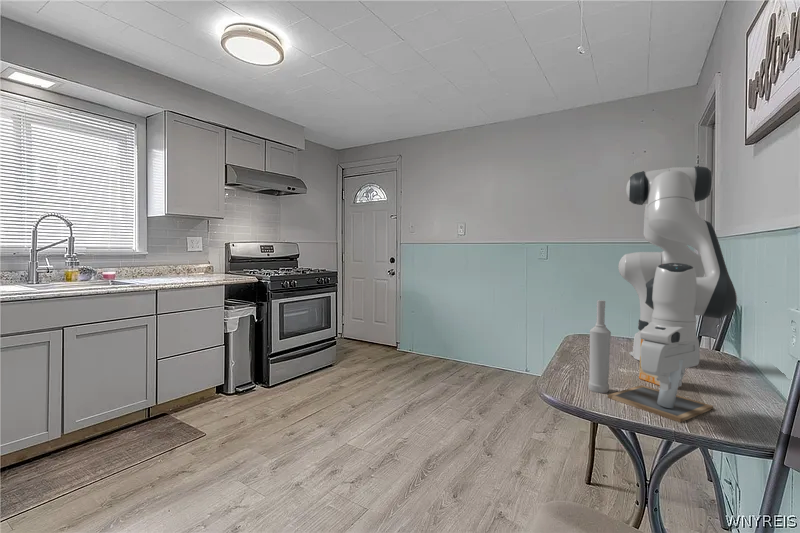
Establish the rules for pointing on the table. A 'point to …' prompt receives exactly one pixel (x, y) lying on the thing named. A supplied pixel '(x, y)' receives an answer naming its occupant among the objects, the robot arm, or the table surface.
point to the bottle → (599, 352)
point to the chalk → (669, 396)
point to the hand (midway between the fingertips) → (670, 387)
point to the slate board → (648, 402)
